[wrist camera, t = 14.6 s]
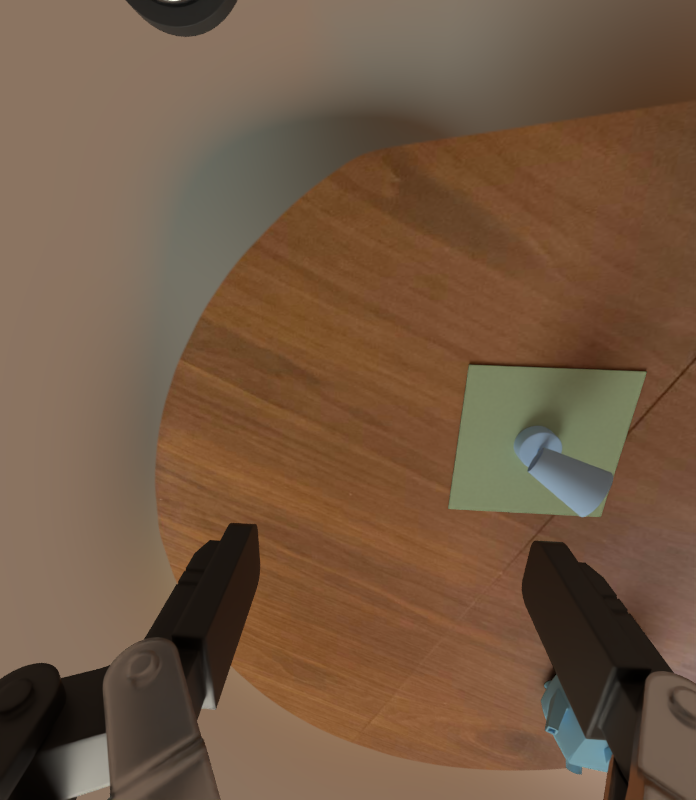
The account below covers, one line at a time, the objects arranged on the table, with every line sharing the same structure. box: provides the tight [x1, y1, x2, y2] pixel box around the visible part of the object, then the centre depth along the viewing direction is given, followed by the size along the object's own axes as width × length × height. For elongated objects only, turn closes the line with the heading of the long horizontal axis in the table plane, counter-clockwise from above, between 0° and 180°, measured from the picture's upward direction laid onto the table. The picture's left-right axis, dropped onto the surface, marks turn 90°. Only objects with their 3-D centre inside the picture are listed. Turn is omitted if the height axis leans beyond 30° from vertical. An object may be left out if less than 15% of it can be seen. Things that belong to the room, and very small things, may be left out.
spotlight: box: [514, 426, 613, 517], centre depth 38 cm, size 5×10×7 cm
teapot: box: [541, 674, 612, 774], centre depth 50 cm, size 18×14×10 cm
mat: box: [448, 365, 647, 517], centre depth 42 cm, size 18×18×1 cm
